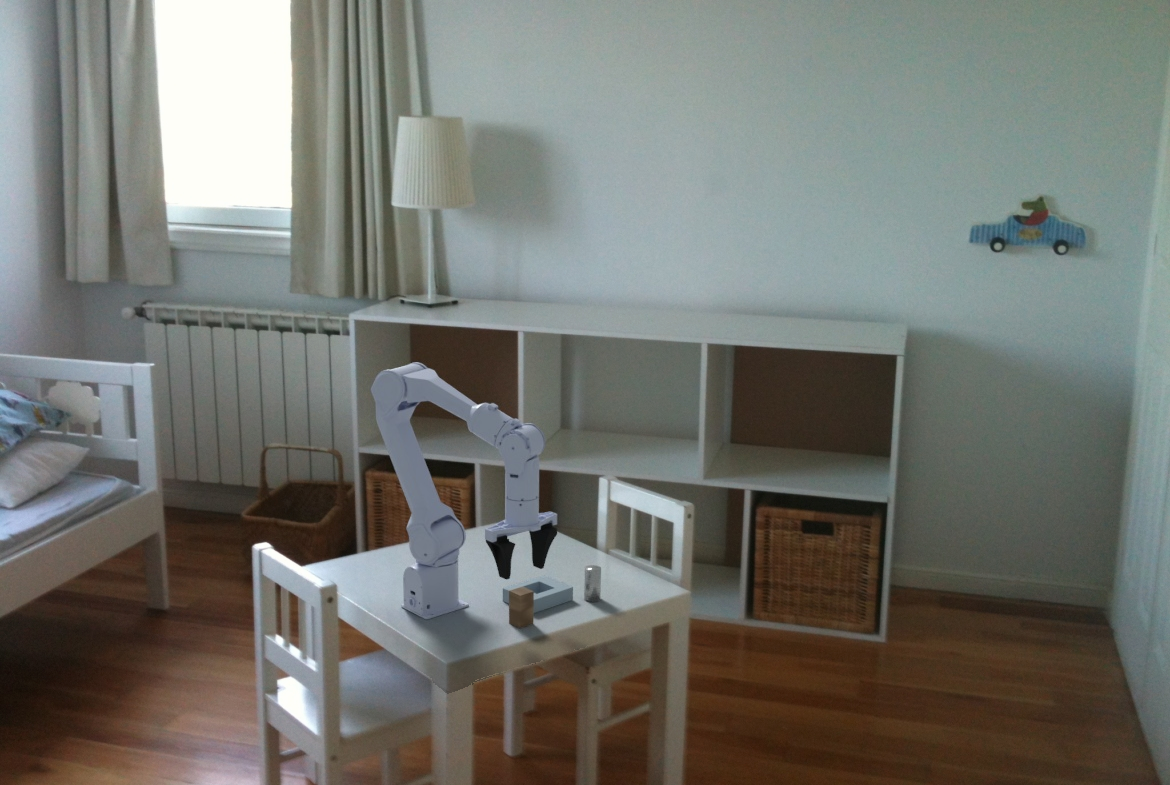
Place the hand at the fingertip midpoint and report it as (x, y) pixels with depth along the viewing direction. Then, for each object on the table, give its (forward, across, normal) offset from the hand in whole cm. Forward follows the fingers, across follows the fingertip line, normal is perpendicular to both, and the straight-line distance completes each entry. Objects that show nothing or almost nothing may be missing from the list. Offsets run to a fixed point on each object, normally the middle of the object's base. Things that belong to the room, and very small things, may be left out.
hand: (521, 572), depth 195 cm
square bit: (+9, 0, 0) cm, 9 cm away
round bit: (+9, +17, 0) cm, 19 cm away
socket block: (+9, +9, +6) cm, 14 cm away
